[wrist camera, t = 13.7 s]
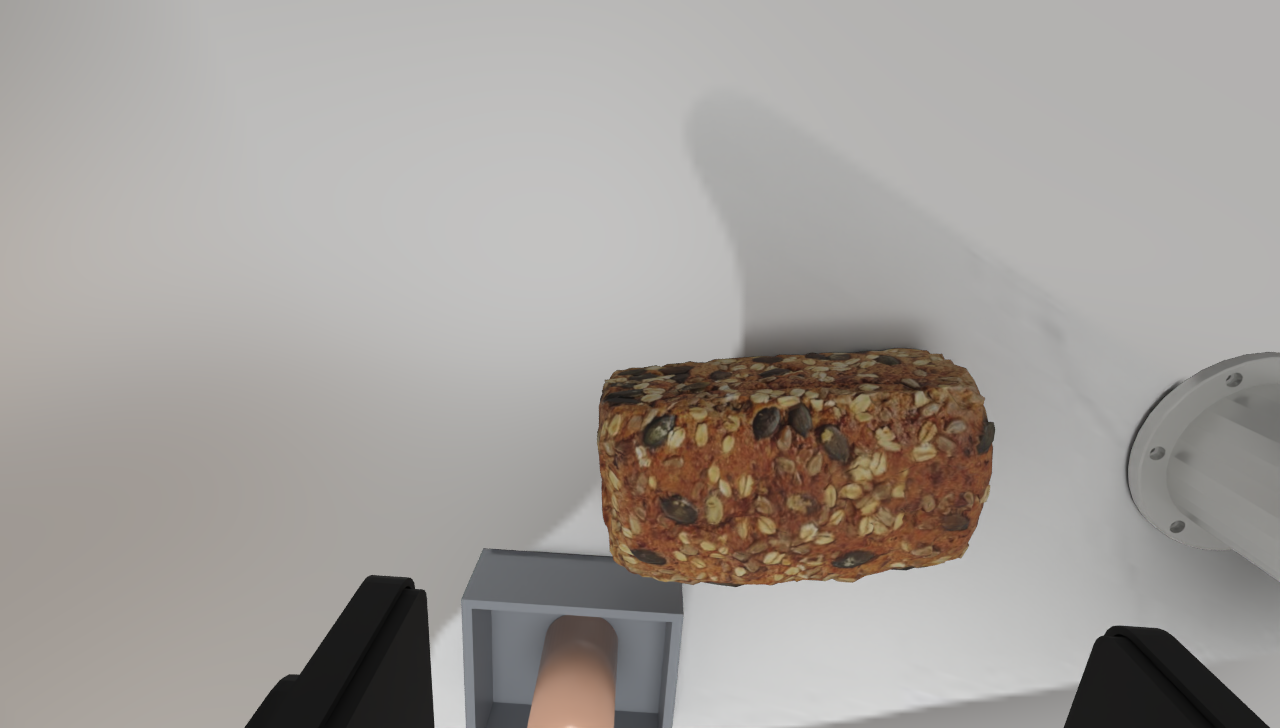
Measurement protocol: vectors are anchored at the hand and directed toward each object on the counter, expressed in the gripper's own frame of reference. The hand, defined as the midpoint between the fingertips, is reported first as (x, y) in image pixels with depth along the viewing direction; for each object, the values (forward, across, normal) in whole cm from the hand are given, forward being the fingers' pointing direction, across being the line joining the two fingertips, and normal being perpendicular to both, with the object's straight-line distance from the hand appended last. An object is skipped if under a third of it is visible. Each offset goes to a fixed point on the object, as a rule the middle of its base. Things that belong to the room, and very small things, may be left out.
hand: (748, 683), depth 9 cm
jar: (+28, +5, +25) cm, 38 cm away
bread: (+29, -6, +9) cm, 31 cm away
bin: (+28, +5, +25) cm, 38 cm away
